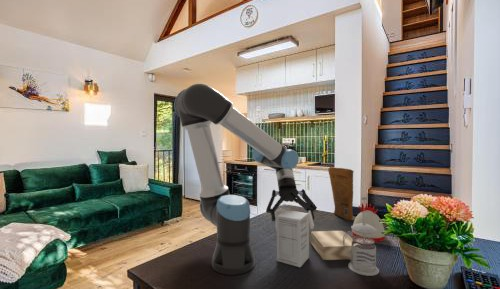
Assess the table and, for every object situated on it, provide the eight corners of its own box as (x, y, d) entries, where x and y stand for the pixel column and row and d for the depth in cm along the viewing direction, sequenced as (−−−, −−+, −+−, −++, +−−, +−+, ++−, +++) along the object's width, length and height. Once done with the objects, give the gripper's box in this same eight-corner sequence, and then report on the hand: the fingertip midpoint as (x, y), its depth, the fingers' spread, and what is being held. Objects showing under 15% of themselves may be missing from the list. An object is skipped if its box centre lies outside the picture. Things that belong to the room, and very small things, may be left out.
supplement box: (309, 257, 95) (310, 213, 94) (300, 268, 87) (301, 219, 86) (286, 251, 100) (286, 209, 99) (275, 261, 92) (275, 215, 91)
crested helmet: (353, 228, 125) (353, 198, 125) (384, 233, 119) (385, 201, 119) (350, 238, 113) (350, 205, 113) (385, 244, 107) (385, 209, 106)
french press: (383, 277, 81) (384, 200, 81) (345, 273, 83) (346, 198, 83) (374, 262, 91) (375, 193, 90) (340, 259, 93) (341, 192, 92)
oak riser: (323, 260, 92) (323, 246, 92) (310, 243, 107) (310, 231, 107) (360, 258, 93) (360, 245, 93) (342, 242, 108) (342, 230, 108)
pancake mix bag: (347, 222, 134) (348, 169, 133) (326, 212, 152) (327, 166, 151) (358, 221, 136) (358, 169, 135) (336, 211, 154) (336, 165, 153)
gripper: (312, 185, 114) (324, 231, 99) (257, 186, 111) (261, 233, 97) (316, 176, 108) (329, 222, 94) (258, 176, 106) (263, 224, 92)
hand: (295, 228), depth 95 cm, fingers open, 13 cm apart
